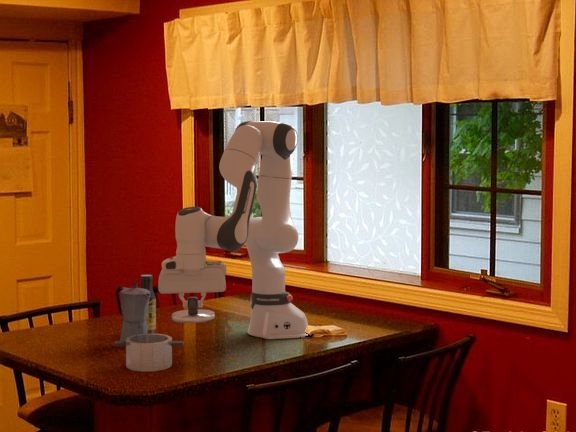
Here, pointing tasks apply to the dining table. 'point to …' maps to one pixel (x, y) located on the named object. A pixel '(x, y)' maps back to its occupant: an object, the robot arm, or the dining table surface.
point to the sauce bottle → (151, 314)
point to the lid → (193, 313)
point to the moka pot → (133, 310)
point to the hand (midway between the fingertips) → (192, 306)
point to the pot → (148, 351)
